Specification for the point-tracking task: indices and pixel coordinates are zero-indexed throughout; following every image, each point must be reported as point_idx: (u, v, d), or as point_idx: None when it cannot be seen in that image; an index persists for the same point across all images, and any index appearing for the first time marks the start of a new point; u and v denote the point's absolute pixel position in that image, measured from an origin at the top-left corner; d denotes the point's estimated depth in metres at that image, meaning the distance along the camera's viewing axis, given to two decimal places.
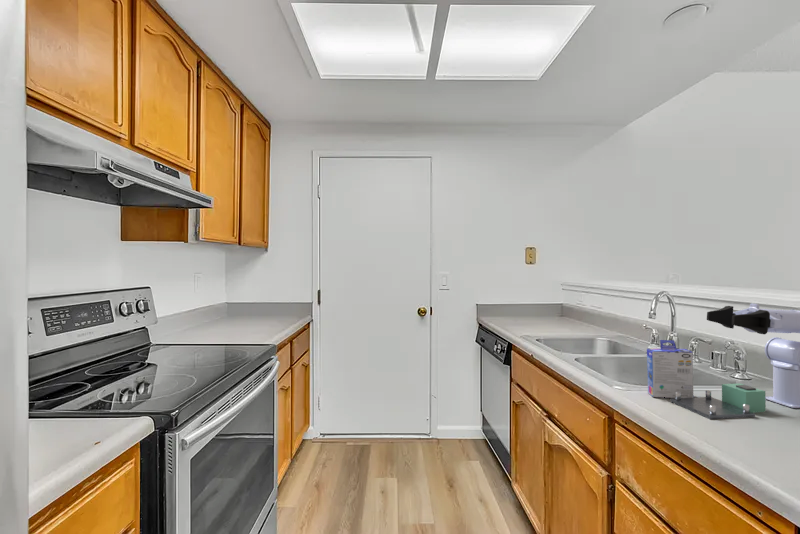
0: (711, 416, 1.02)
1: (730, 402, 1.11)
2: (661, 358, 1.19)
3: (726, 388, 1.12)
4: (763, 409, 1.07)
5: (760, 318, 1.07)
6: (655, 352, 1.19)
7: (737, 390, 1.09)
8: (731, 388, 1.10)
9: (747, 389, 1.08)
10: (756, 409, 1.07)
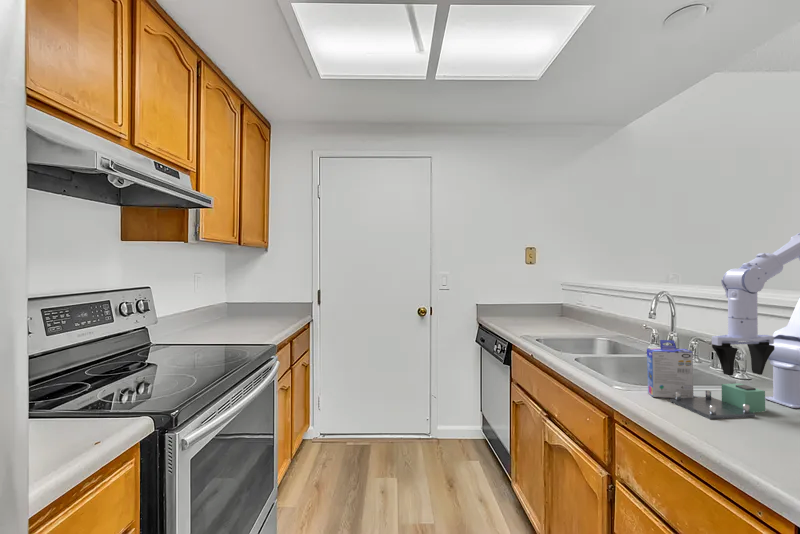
0: (711, 416, 1.02)
1: (730, 402, 1.11)
2: (661, 358, 1.19)
3: (726, 388, 1.12)
4: (763, 409, 1.07)
5: None
6: (655, 352, 1.19)
7: (737, 390, 1.09)
8: (731, 388, 1.10)
9: (747, 389, 1.08)
10: (755, 409, 1.07)
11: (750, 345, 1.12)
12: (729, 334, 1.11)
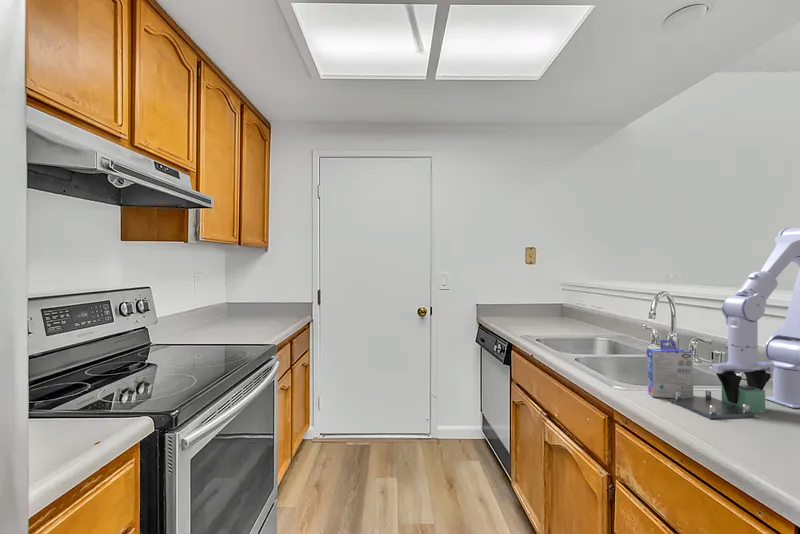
0: (711, 416, 1.02)
1: (730, 402, 1.11)
2: (661, 358, 1.19)
3: None
4: (763, 409, 1.07)
5: None
6: (655, 352, 1.19)
7: None
8: None
9: (747, 389, 1.08)
10: (755, 409, 1.07)
11: (746, 372, 1.12)
12: (729, 361, 1.11)
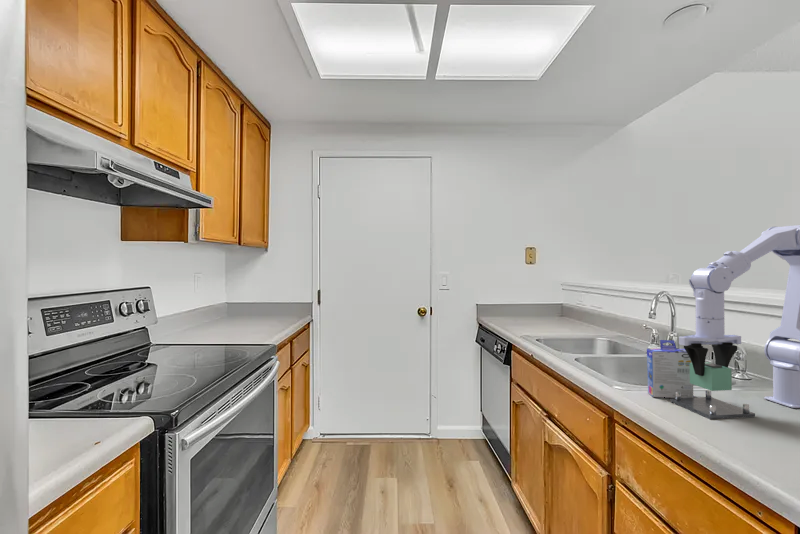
0: (711, 416, 1.02)
1: (697, 380, 1.10)
2: (661, 358, 1.19)
3: None
4: (729, 387, 1.06)
5: None
6: (655, 352, 1.19)
7: None
8: None
9: (713, 367, 1.07)
10: (722, 387, 1.06)
11: (714, 345, 1.11)
12: (696, 334, 1.10)
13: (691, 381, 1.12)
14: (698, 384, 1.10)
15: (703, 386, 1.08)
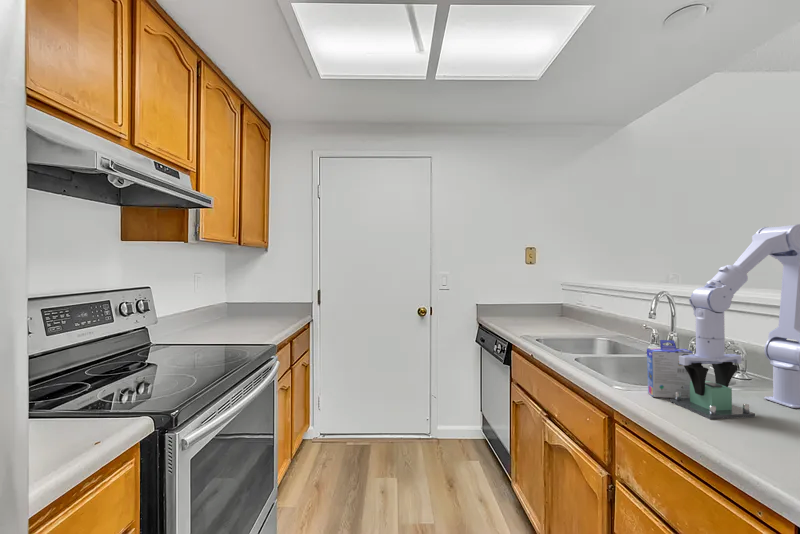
0: (711, 416, 1.02)
1: (697, 399, 1.10)
2: (661, 358, 1.19)
3: None
4: (730, 407, 1.06)
5: None
6: (655, 352, 1.19)
7: None
8: None
9: (713, 386, 1.07)
10: (722, 407, 1.06)
11: (714, 364, 1.11)
12: (697, 353, 1.10)
13: (691, 400, 1.12)
14: (698, 403, 1.10)
15: (703, 405, 1.08)
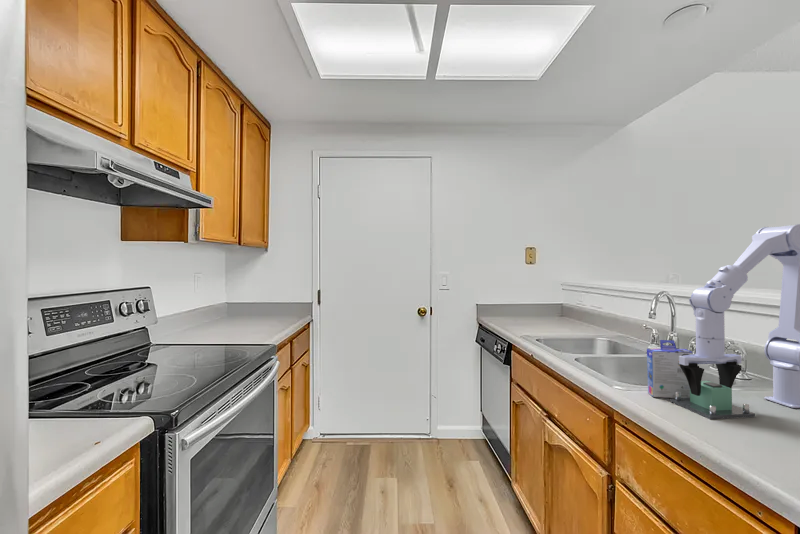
0: (711, 416, 1.02)
1: (697, 399, 1.10)
2: (661, 358, 1.19)
3: None
4: (730, 407, 1.06)
5: None
6: (655, 352, 1.19)
7: (704, 387, 1.08)
8: None
9: (714, 386, 1.07)
10: (722, 407, 1.06)
11: (718, 364, 1.11)
12: (697, 353, 1.10)
13: (691, 400, 1.12)
14: (698, 403, 1.10)
15: (703, 405, 1.08)
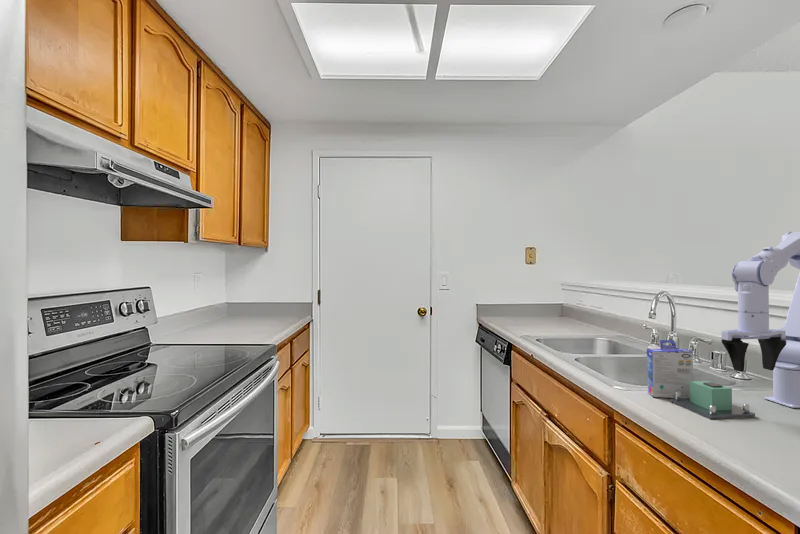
0: (711, 416, 1.02)
1: (697, 399, 1.10)
2: (661, 358, 1.19)
3: (694, 385, 1.11)
4: (730, 407, 1.06)
5: None
6: (655, 352, 1.19)
7: (704, 387, 1.08)
8: (698, 385, 1.10)
9: (714, 386, 1.07)
10: (722, 407, 1.06)
11: (761, 340, 1.09)
12: (739, 329, 1.07)
13: (691, 400, 1.12)
14: (698, 403, 1.10)
15: (703, 405, 1.08)
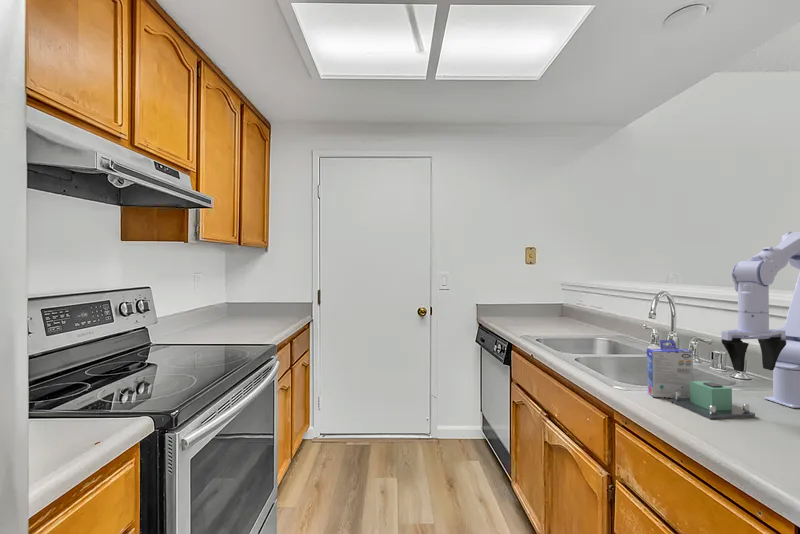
0: (711, 416, 1.02)
1: (697, 399, 1.10)
2: (661, 358, 1.19)
3: (694, 385, 1.11)
4: (730, 407, 1.06)
5: None
6: (655, 352, 1.19)
7: (704, 387, 1.08)
8: (698, 385, 1.10)
9: (714, 386, 1.07)
10: (722, 407, 1.06)
11: (761, 340, 1.09)
12: (739, 329, 1.07)
13: (691, 400, 1.12)
14: (698, 403, 1.10)
15: (703, 405, 1.08)
